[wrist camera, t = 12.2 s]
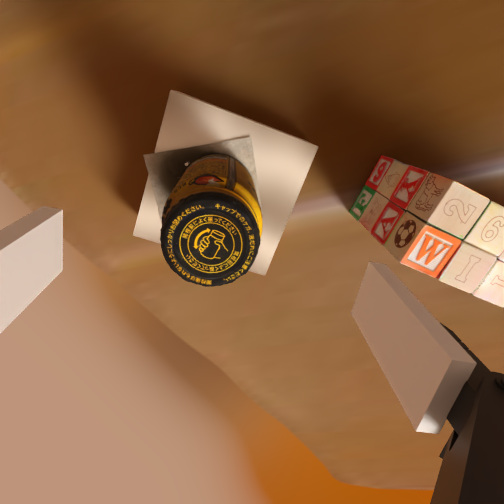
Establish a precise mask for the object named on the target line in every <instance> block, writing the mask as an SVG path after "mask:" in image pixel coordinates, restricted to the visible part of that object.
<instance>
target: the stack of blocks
mask: <svg viewBox="0 0 504 504" xmlns="http://www.w3.org/2000/svg"><path fill="white" fill-rule="evenodd" d="M349 213H350V214H351V215H352V216H353V217H354V218H355V219H356V220H357V221H358V222H359V223H361V224H362V225H363V226H364V227H365V228H366V229H367V230H368V231H370V233H371V235H372V236H373V237H374V238H375V239H376V240H377V241H378V242H379V243H380V244H382V245H383V246H384V247H385V248H386V249H387V250H388V251H389V252H390V253H391V254H392V255H393V256H394V257H395V258H396V259H397V260H398V261H399V262H400V263H402V264H404V265H406V266H408V267H411V268H413V269H416V270H418V271H420V272H422V273H425V274H427V275H429V276H432V277H435V278H436V279H438V280H439V281H441V282H444V283H446V284H448V285H451V286H453V287H456V288H458V289H461V290H463V291H466V292H468V293H470V294H472V295H473V296H475V297H478V298H480V299H483V300H485V301H487V302H490V303H492V304H495V305H497V306H500V307H504V207H503V206H501V205H499V204H497V203H495V202H493V201H491V200H489V198H487V197H485V196H483V195H481V194H479V193H477V192H475V191H474V190H472V189H470V188H468V187H466V186H464V185H462V184H460V183H458V182H456V181H454V180H452V179H449V178H446V177H443V176H440V175H437V174H434V173H431V172H429V171H426V170H424V169H421V168H418V167H415V166H412V165H407V164H404V163H402V162H400V161H398V160H396V159H393V158H390V157H387V156H384V155H381V157H380V159H379V160H378V162H377V164H376V166H375V167H374V169H373V171H372V173H371V174H370V176H369V178H368V180H367V181H366V183H365V186H364V187H363V189H362V191H361V193H360V194H359V196H358V198H357V199H356V201H355V203H354V205H353V206H352V208H351V210H350V211H349Z"/></svg>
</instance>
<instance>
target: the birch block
mask: <svg viewBox="0 0 504 504" xmlns="http://www.w3.org/2000/svg"><path fill="white" fill-rule="evenodd" d="M248 137H251V139H252V146H253V153H254V159H255V167H256V173H257V180H258V187H259V194H260V201H261V207H262V214H263V221H264V225H263V227H262V235H261V238H260V239H261V241H260V247H259V249H258V254H257V257H256V259H255V261H254V263H253V265H252V266H251V268H250V269H249V270H248V271H251V272H255V273H258V274H261V275H265V274H266V272H267V269H268V267H269V265H270V262H271V260H272V257H273V255H274V252H275V250H276V248H277V245H278V243H279V240H280V238H281V236H282V233H283V231H284V228H285V226H286V224H287V221H288V219H289V216H290V214H291V211H292V209H293V207H294V204H295V202H296V199H297V197H298V195H299V192H300V190H301V187H302V185H303V183H304V180H305V178H306V175H307V173H308V171H309V168H310V166H311V163H312V161H313V158H314V156H315V154H316V151H317V149H318V146H316V145H314V144H312V143H310V142H308V141H306V140H303V139H301V138H298V137H296V136H293V135H290V134H288V133H285V132H283V131H280V130H277V129H275V128H272V127H270V126H267V125H264V124H262V123H259V122H257V121H254V120H252V119H249V118H246V117H244V116H241V115H239V114H236V113H233V112H231V111H228V110H226V109H223V108H220V107H218V106H215V105H213V104H210V103H208V102H205V101H202V100H200V99H197V98H195V97H192V96H189V95H187V94H184V93H182V92H179V91H175V90H170V94H169V98H168V101H167V105H166V109H165V113H164V117H163V121H162V125H161V128H160V132H159V136H158V140H157V144H156V148H155V152H154V153H158V152H164V151H169V150H175V149H182V148H188V147H193V146H199V145H205V144H211V143H217V142H224V141H229V140H236V139H242V138H248ZM185 166H188V162H187V163H185ZM161 228H162V222H161V219H160V215H159V211H158V206H157V203H156V199H155V195H154V192H153V188H152V185H151V181H150V177H149V175H148V179H147V183H146V186H145V190H144V194H143V198H142V202H141V206H140V210H139V213H138V217H137V221H136V225H135V229H134V233H133V235H134V236H137V237H140V238H143V239H147V240H150V241H153V242H156V243H160V244H161V241H160V235H161V234H160V233H161Z"/></svg>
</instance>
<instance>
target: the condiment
mask: <svg viewBox="0 0 504 504" xmlns="http://www.w3.org/2000/svg"><path fill="white" fill-rule="evenodd" d="M143 156H144V160H145V163H146V166H147V170H148V174H149V177H150V181H151V185H152V188H153V192H154V195H155V199H156V203H157V206H158V211H159V215H160V219H161V222H162V228H161V233H160V234H161V235H160V241H161V248H162V251H163V255H164V257H165V260H166V262H167V263H168V264H169V266H170V268H171V269H172V270H173V271H174V272H175V273H177V274H178V275H179V276H180V277H181V278H182V279H184V280H185V281H188V282H192V283H195V284H199V285H202V286H220V285H223V284H228V283H231V282H233V281H235V280H236V279H237V278H239V277H240V276H242V275H244V274H246V273H247V272H248V270H249V269H250V268H251V266H252V265H253V263H254V261H255V259H256V257H257V254H258V249H259V247H260V241H261V239H260V238H261V235H262V227H263V225H264V221H263V214H262V207H261V201H260V194H259V187H258V180H257V173H256V167H255V159H254V153H253V146H252V139H251V137H248V138H242V139H236V140H229V141H224V142H217V143H211V144H205V145H199V146H193V147H188V148H182V149H175V150H169V151H164V152H158V153H152V154H146V155H143ZM187 162H188V166H185V163H187Z"/></svg>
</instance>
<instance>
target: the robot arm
mask: <svg viewBox="0 0 504 504" xmlns="http://www.w3.org/2000/svg"><path fill="white" fill-rule="evenodd" d="M62 270H63V209H57V208H51V207H45V206H42V207H40V208H39V209H37V210H35V211H33V212H32V213H30V214H28V215H26V216H25V217H23V218H21V219H19V220H18V221H16V222H14V223H13V224H11V225H9V226H7V227H5V228H4V229H2V230H0V333H1V332H2V331H3V330H4V329H5V328H6V327H7V326H8V325H9V324H10V323H11V322H12V321H13V320H14V319H15V318H16V317H17V316H18V315H19V314H20V313H21V312H22V311H23V310H24V309H25V308H26V307H27V306H28V305H29V304H30V303H31V302H32V301H33V300H34V299H35V298H36V297H37V296H38V295H39V294H40V293H41V292H42V290H44V289H45V288H46V287H47V286H48V285H49V284H50V283H51V282H52V281H53V280H54V278H56V277H57V275H58V274H60V273H61V271H62ZM351 315H352V316H353V318H354V320H355V322H356V324H357V325H358V327H359V329H360V331H361V333H362V335H363V336H364V338H365V340H366V342H367V344H368V345H369V347H370V349H371V351H372V353H373V354H374V356H375V358H376V360H377V362H378V364H379V365H380V367H381V369H382V371H383V373H384V374H385V376H386V378H387V380H388V382H389V383H390V385H391V387H392V389H393V391H394V393H395V394H396V396H397V398H398V400H399V402H400V403H401V405H402V407H403V409H404V411H405V413H406V414H407V416H408V418H409V420H410V422H411V423H412V425H413V427H414V429H415V431H417V432H427V433H436V434H439V432H440V431H441V429H442V427H443V425H444V423H445V421H446V420H447V419H448V421H449V422H450V424H451V425H452V427H453V428H454V431H453V432H452V434H451V436H450V438H449V439H448V441H447V443H446V445H445V447H444V448H443V450H442V452H441V454H440V456H439V457H441V458H442V459H443V461H442V465H441V468H440V472H439V475H438V479H437V482H436V485H435V489H434V493H433V496H432V499H431V503H430V504H504V374H502V373H497V372H491V371H490V370H489V369H488V368H487V367H486V366H485V365H484V364H483V363H482V362H481V361H480V360H479V359H478V358H477V357H476V356H475V355H474V353H473V352H472V351H471V350H469V348H468V347H467V346H466V345H465V344H464V343H463V342H461V340H460V339H459V338H458V337H457V335H456V334H455V333H454V332H453V331H451V330H450V329H448V328H447V327H446V326H444V325H443V324H441V323H439V322H438V321H437V320H436V318H435V317H434V316H433V315H432V314H431V313H430V312H429V311H428V310H427V309H426V308H425V307H424V305H423V304H422V303H421V302H420V301H419V300H418V299H417V298H416V297H415V296H414V295H413V294H412V292H411V291H410V290H409V289H408V288H407V287H406V286H405V285H404V284H403V283H402V282H401V281H400V279H399V278H398V277H397V276H396V275H395V274H394V273H393V272H392V271H391V270H390V269H389V268H388V266H387V265H386V264H382V263H376V262H370V261H369V263H368V266H367V269H366V272H365V275H364V278H363V280H362V283H361V286H360V289H359V292H358V295H357V297H356V300H355V303H354V306H353V309H352V311H351Z"/></svg>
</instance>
